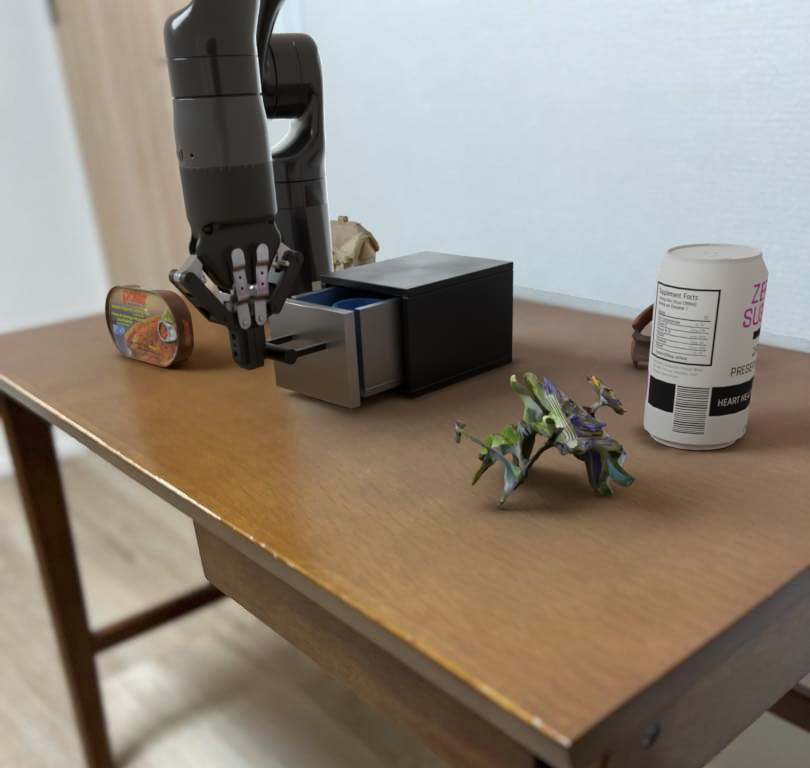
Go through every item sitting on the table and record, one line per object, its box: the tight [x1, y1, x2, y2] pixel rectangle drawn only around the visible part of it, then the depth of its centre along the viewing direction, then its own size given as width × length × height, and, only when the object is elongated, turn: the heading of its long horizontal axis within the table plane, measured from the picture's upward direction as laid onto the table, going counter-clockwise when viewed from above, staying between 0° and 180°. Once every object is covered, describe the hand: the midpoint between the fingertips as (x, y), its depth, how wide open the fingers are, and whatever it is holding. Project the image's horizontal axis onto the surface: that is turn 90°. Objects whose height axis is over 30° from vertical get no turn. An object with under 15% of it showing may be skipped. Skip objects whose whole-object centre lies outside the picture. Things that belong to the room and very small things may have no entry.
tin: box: [104, 284, 195, 368], centre depth 101 cm, size 15×3×8 cm, turn 47°
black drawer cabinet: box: [320, 250, 514, 400], centre depth 92 cm, size 16×13×11 cm
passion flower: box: [453, 371, 636, 510], centre depth 63 cm, size 11×11×12 cm
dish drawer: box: [266, 285, 406, 410], centre depth 86 cm, size 19×11×9 cm, turn 135°
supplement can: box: [643, 242, 769, 451], centre depth 71 cm, size 8×8×15 cm
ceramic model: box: [330, 215, 380, 272], centre depth 134 cm, size 14×11×10 cm
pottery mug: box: [630, 302, 654, 369], centre depth 91 cm, size 12×10×8 cm
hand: (251, 366), depth 79 cm, fingers closed
